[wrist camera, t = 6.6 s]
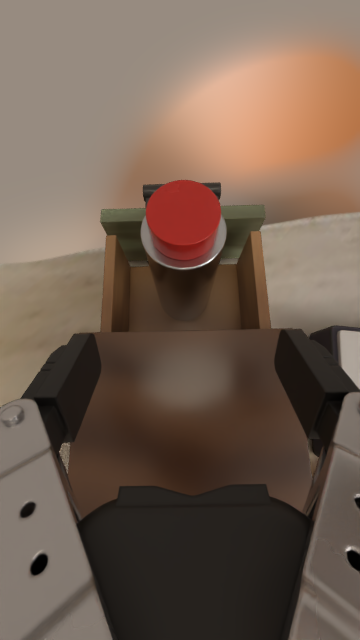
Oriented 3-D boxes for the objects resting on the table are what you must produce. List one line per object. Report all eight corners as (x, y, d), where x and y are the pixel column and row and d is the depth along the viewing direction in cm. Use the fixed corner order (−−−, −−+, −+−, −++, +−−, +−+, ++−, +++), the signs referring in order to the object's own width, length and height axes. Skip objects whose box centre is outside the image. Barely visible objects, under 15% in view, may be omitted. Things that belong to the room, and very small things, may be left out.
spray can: (207, 275, 25) (228, 169, 12) (209, 320, 23) (235, 253, 11) (160, 276, 25) (136, 172, 13) (160, 321, 24) (133, 256, 11)
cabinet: (112, 349, 25) (78, 332, 17) (258, 346, 25) (292, 328, 17) (104, 530, 21) (55, 619, 13) (275, 528, 21) (330, 618, 13)
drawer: (122, 216, 28) (103, 165, 21) (242, 212, 27) (259, 160, 21) (115, 392, 23) (87, 396, 17) (258, 389, 23) (286, 392, 16)
